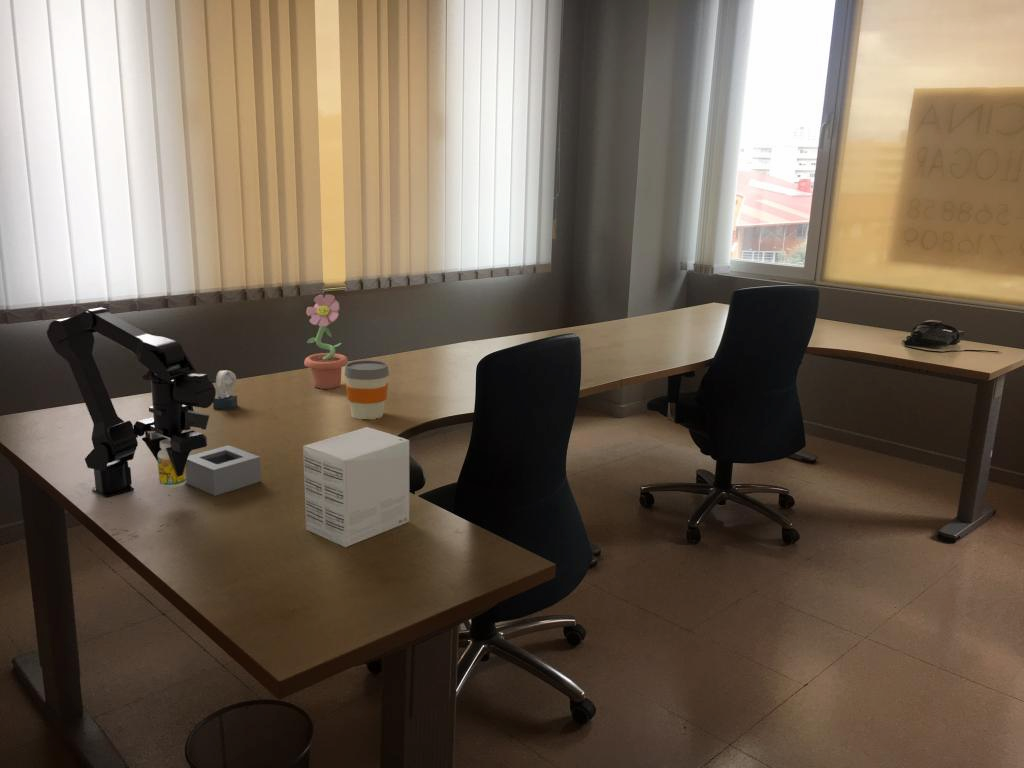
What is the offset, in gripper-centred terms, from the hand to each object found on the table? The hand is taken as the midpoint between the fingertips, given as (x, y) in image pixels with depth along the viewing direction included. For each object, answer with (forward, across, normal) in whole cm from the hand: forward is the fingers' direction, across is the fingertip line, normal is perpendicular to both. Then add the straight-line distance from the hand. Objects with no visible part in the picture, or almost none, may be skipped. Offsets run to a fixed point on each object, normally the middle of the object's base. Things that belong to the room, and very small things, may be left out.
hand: (172, 472), depth 186 cm
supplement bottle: (+3, 0, 0) cm, 3 cm away
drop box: (+7, +3, -14) cm, 16 cm away
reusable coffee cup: (+7, +19, -73) cm, 76 cm away
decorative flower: (+7, +53, -86) cm, 101 cm away
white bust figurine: (+7, +55, -50) cm, 75 cm away
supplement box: (+7, -38, -18) cm, 43 cm away
